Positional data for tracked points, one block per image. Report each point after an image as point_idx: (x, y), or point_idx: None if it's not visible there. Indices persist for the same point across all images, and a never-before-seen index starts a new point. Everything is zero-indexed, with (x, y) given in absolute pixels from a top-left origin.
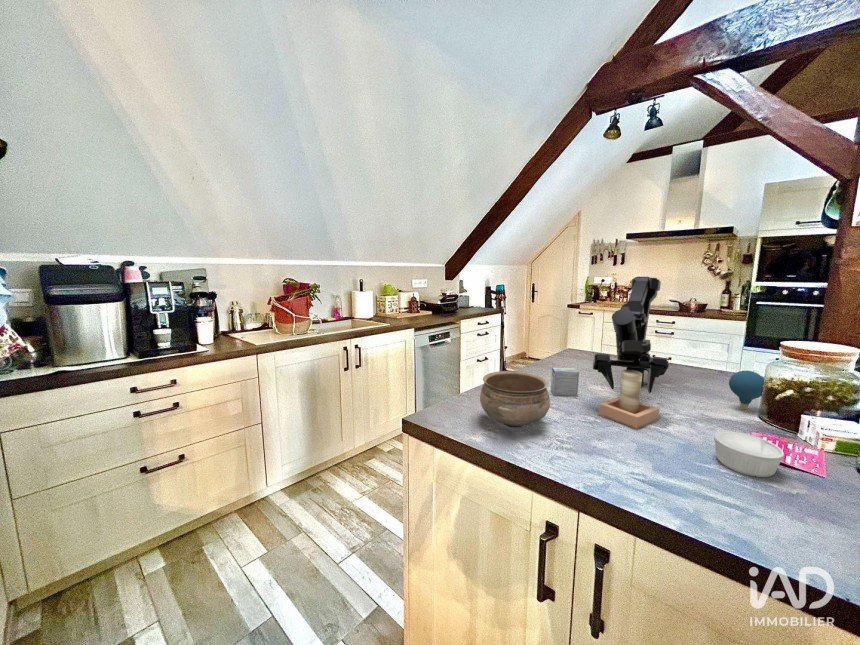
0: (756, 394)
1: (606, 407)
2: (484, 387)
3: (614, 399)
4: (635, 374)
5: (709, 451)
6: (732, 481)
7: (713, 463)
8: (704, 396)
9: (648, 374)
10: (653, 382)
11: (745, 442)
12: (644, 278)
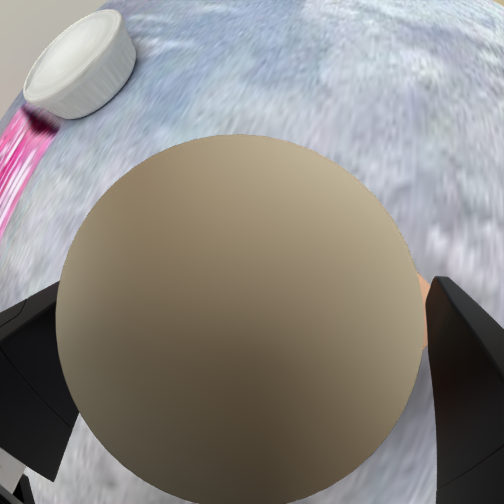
0: None
1: (419, 278)
2: None
3: None
4: (188, 178)
5: (121, 108)
6: (163, 18)
7: (152, 58)
8: None
9: (28, 437)
10: (47, 289)
11: (67, 52)
12: None
